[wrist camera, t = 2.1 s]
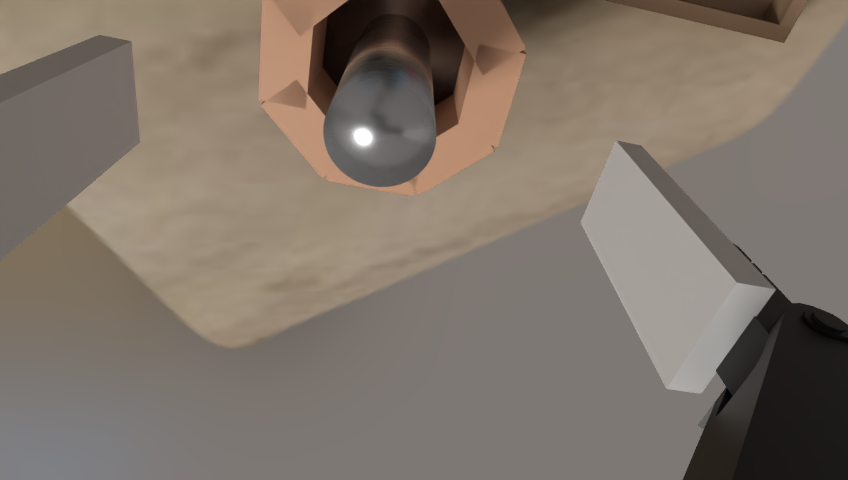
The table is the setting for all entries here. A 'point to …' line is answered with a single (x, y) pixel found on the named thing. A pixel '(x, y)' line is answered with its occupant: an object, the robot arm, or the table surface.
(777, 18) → the tray
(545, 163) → the table surface
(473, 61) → the ring
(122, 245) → the table surface
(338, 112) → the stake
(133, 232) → the table surface
